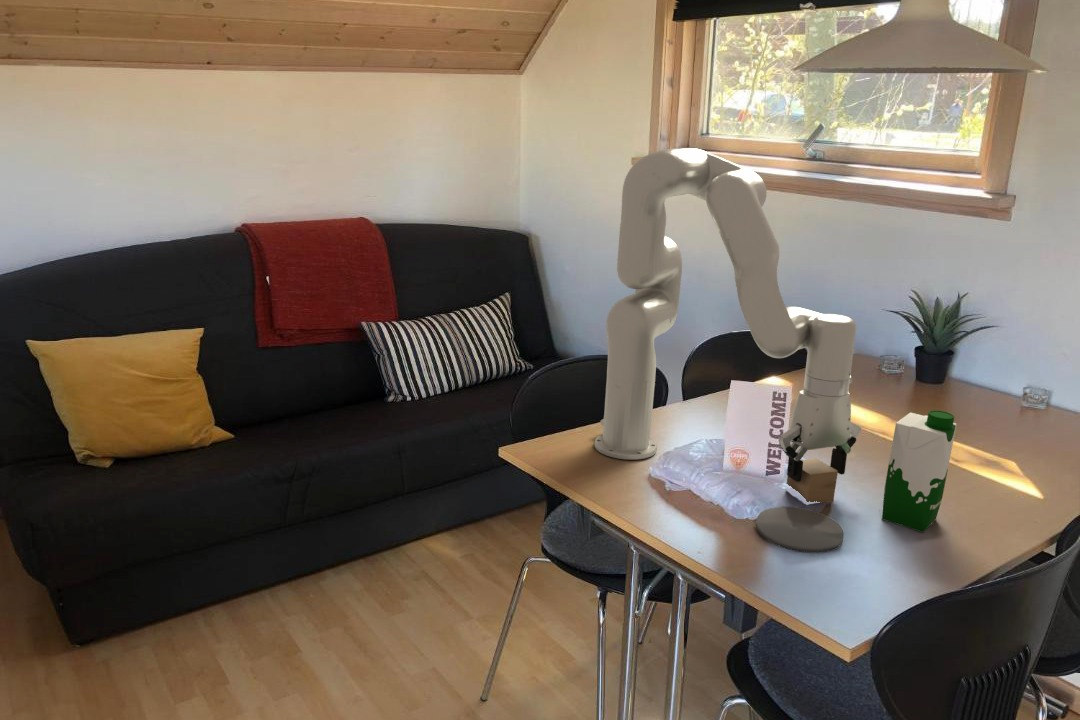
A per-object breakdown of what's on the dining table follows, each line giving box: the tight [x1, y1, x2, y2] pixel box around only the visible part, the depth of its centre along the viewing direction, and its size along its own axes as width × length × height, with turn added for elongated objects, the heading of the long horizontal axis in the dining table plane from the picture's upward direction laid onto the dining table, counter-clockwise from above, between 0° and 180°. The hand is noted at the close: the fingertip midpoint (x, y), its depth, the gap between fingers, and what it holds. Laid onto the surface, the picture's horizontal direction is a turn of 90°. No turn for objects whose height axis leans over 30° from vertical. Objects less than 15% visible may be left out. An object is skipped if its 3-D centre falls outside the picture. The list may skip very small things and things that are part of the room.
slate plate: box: [755, 506, 845, 554], centre depth 149 cm, size 14×14×1 cm
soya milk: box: [881, 410, 958, 533], centre depth 153 cm, size 9×9×20 cm
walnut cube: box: [786, 457, 839, 504], centre depth 162 cm, size 6×6×6 cm
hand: (815, 475), depth 162 cm, fingers open, 9 cm apart
